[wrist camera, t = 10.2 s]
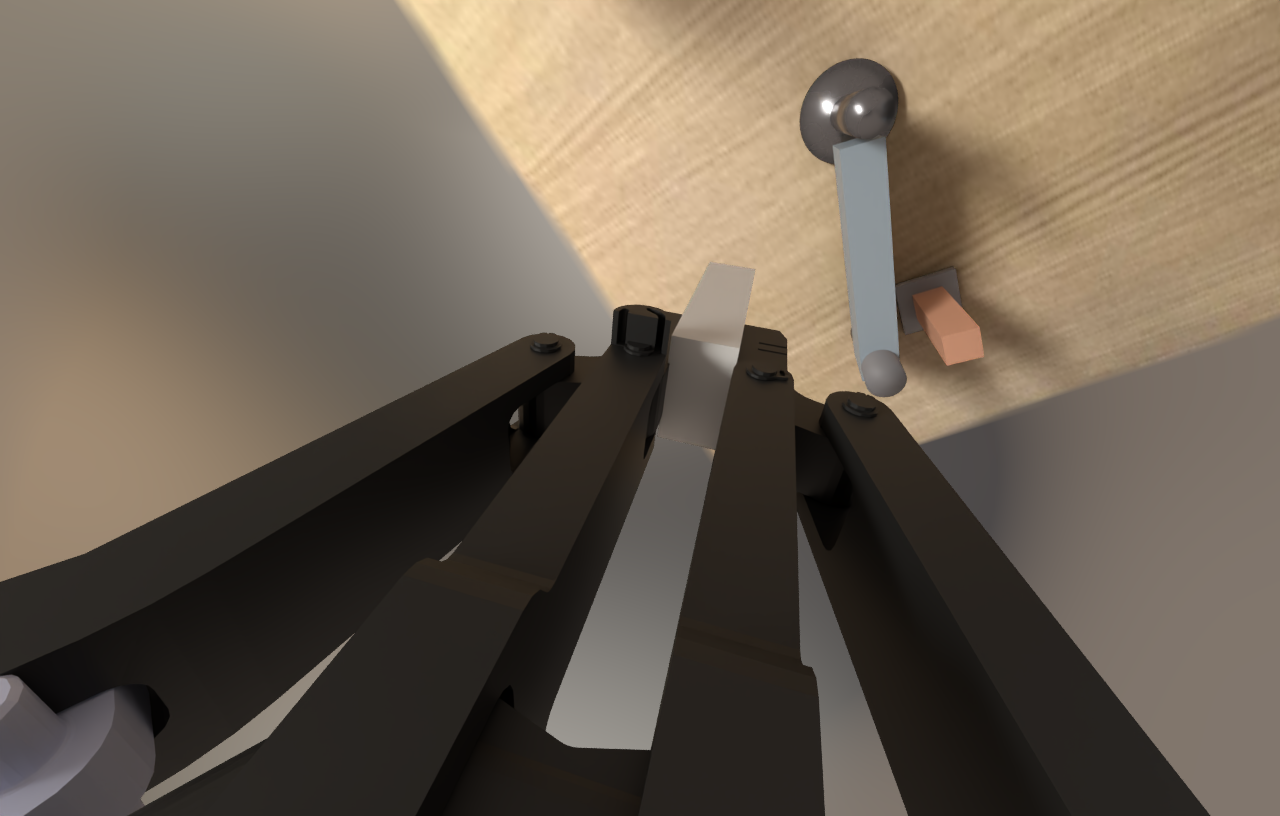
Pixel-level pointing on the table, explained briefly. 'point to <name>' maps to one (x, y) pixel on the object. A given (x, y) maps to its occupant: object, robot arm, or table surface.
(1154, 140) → the table surface
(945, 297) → the post
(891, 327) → the gate
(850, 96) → the hinge post
